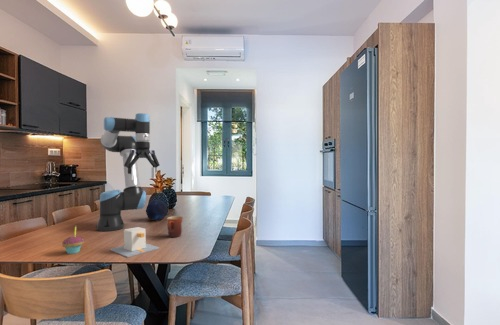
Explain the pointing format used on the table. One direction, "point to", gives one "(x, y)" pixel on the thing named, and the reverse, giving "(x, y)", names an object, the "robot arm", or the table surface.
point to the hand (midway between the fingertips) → (142, 179)
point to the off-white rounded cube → (134, 238)
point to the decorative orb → (156, 210)
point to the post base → (132, 253)
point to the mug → (174, 226)
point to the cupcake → (73, 243)
